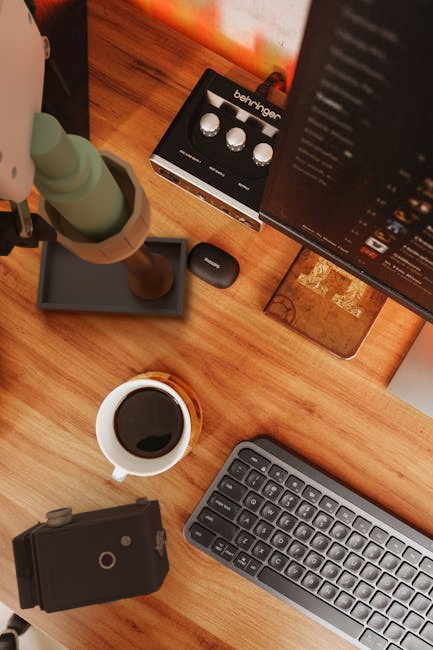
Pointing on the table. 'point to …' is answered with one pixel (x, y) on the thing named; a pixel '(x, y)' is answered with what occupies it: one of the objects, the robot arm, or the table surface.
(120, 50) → the table surface
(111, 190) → the bottle
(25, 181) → the robot arm
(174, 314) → the tray
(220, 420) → the table surface
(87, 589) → the camera
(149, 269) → the goblet
